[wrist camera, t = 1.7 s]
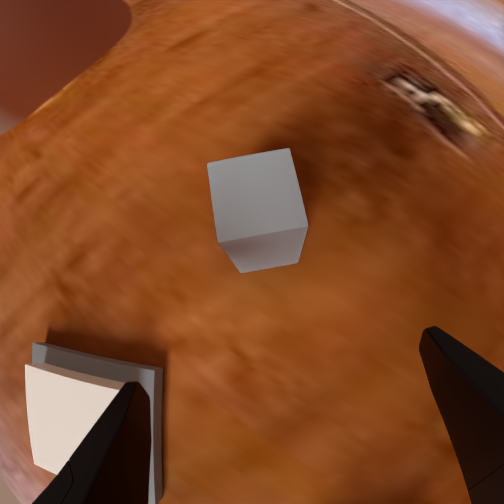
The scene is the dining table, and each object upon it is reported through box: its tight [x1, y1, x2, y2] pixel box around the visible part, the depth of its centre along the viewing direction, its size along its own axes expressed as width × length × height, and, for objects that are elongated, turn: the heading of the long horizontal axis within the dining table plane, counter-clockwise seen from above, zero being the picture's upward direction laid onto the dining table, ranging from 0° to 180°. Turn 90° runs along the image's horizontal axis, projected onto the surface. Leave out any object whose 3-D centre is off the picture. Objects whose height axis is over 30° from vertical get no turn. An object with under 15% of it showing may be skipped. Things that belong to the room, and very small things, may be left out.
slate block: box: [207, 148, 308, 273], centre depth 19 cm, size 4×4×9 cm
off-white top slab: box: [25, 363, 125, 475], centre depth 19 cm, size 9×9×2 cm
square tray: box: [32, 343, 163, 504], centre depth 21 cm, size 12×12×2 cm
